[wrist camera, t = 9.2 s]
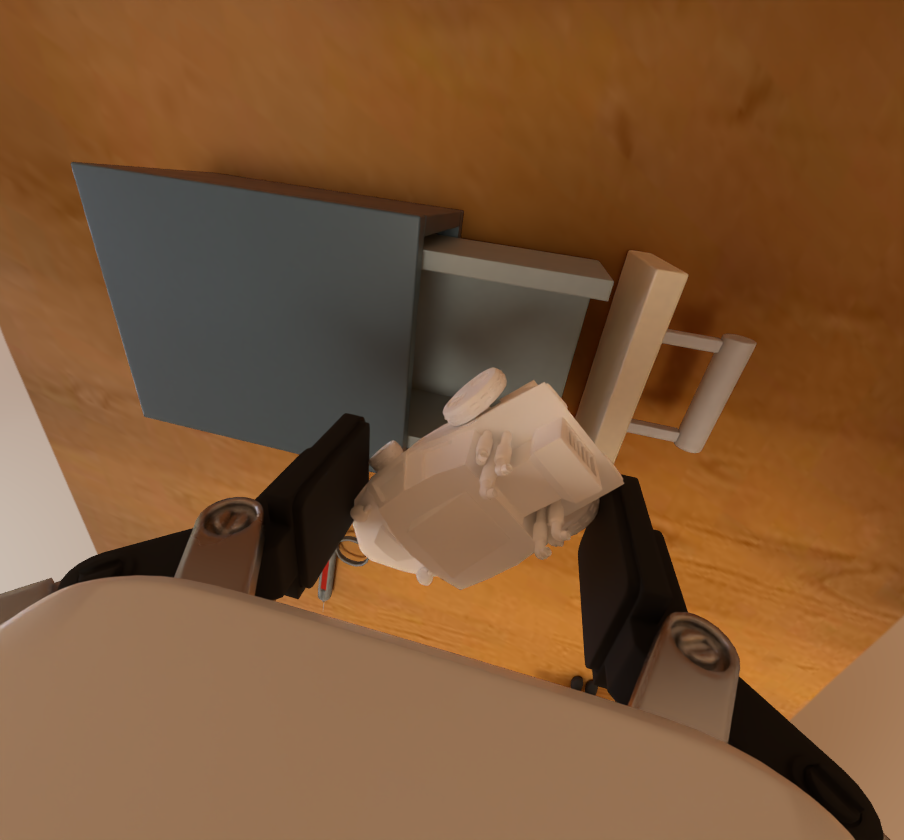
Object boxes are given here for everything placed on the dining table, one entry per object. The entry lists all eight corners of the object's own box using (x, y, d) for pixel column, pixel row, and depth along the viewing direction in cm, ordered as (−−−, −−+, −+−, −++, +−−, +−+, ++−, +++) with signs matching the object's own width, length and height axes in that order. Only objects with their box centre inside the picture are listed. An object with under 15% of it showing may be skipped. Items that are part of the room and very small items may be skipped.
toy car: (634, 462, 12) (669, 577, 8) (434, 559, 15) (398, 668, 12) (533, 331, 11) (522, 398, 7) (343, 470, 14) (273, 561, 11)
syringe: (293, 592, 43) (284, 606, 42) (299, 460, 34) (287, 472, 33) (360, 617, 43) (354, 631, 41) (385, 489, 34) (377, 502, 32)
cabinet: (464, 210, 23) (420, 216, 15) (439, 408, 29) (400, 479, 22) (214, 172, 25) (68, 161, 17) (241, 365, 31) (143, 417, 24)
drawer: (753, 269, 20) (834, 297, 14) (666, 455, 26) (698, 530, 20) (384, 211, 23) (326, 215, 17) (378, 393, 28) (332, 443, 23)
